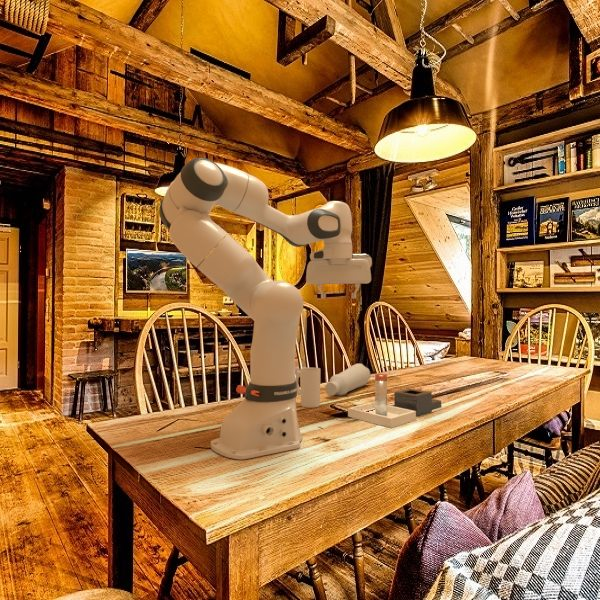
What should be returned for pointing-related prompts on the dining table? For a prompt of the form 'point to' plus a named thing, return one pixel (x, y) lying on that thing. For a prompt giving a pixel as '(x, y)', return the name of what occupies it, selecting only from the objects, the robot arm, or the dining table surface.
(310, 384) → the mug
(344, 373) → the bottle
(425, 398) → the block
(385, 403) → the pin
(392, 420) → the tray
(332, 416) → the dining table surface
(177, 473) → the dining table surface
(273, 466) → the dining table surface
